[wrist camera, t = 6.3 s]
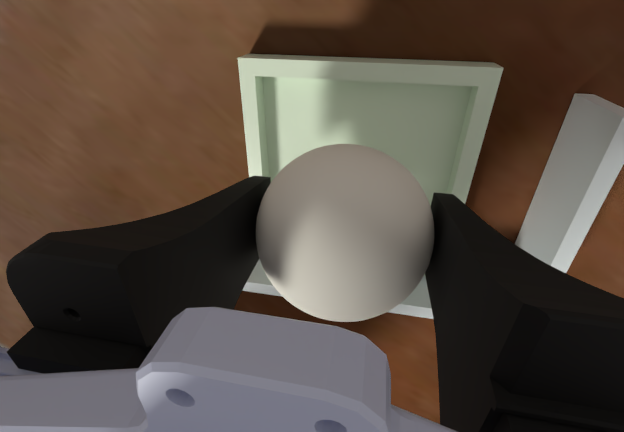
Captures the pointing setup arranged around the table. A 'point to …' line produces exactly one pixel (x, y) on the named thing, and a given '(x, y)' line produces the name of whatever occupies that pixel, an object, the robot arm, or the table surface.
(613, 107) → the acrylic walls
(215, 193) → the robot arm
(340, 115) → the resting spot
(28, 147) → the table surface
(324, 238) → the ball
